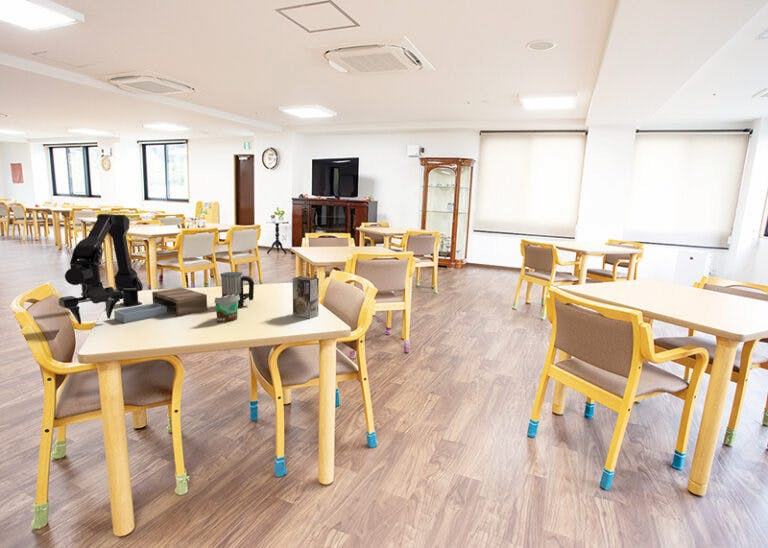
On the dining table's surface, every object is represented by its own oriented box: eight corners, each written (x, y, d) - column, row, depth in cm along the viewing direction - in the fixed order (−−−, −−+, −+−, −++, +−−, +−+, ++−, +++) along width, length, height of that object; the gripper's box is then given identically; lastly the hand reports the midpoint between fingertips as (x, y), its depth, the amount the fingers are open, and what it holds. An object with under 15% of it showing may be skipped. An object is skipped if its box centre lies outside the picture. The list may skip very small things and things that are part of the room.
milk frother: (223, 309, 181) (222, 275, 178) (215, 301, 194) (214, 269, 191) (257, 306, 189) (256, 273, 186) (247, 298, 202) (246, 268, 199)
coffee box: (319, 315, 178) (319, 277, 175) (310, 319, 173) (310, 280, 170) (301, 312, 182) (301, 275, 179) (292, 315, 176) (291, 277, 173)
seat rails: (165, 307, 181) (164, 304, 181) (181, 304, 187) (181, 301, 187) (182, 313, 173) (182, 310, 173) (199, 310, 179) (199, 306, 179)
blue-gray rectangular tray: (114, 319, 162) (114, 310, 162) (156, 311, 175) (156, 302, 174) (124, 323, 158) (123, 314, 157) (166, 314, 171) (166, 306, 170)
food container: (229, 324, 161) (228, 299, 159) (215, 323, 162) (214, 298, 160) (246, 316, 173) (245, 292, 171) (232, 314, 174) (232, 291, 172)
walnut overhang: (153, 307, 180) (152, 291, 178) (181, 302, 190) (180, 287, 189) (178, 316, 168) (177, 299, 167) (207, 310, 179) (206, 294, 177)
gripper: (68, 286, 138) (73, 332, 141) (129, 278, 153) (132, 320, 156) (55, 281, 144) (60, 325, 147) (115, 274, 159) (118, 314, 162)
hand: (94, 321), depth 153 cm, fingers open, 9 cm apart
